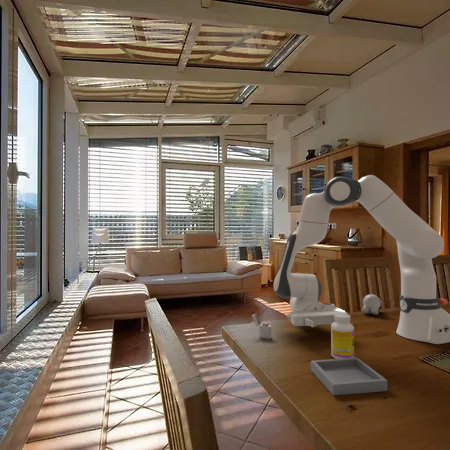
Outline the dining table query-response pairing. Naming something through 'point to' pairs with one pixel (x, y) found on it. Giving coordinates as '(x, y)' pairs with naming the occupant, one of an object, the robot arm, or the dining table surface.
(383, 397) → the dining table surface
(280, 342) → the dining table surface
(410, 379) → the dining table surface
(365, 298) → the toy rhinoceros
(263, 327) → the lighter
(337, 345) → the supplement bottle
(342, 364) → the tray
